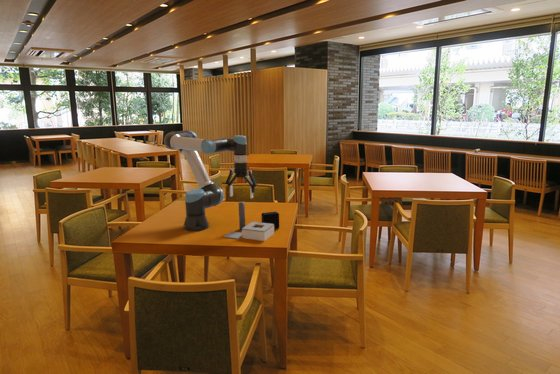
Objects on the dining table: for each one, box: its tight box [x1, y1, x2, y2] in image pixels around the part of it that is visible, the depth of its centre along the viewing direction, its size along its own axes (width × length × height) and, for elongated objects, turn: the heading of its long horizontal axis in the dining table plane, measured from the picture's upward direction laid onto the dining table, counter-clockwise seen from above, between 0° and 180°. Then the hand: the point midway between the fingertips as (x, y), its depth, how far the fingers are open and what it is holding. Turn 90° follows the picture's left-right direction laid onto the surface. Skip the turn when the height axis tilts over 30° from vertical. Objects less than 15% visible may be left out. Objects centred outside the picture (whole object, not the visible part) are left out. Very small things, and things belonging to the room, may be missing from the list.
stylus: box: [238, 201, 246, 231], centre depth 233 cm, size 4×4×17 cm
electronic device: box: [261, 211, 280, 230], centre depth 235 cm, size 4×10×10 cm, turn 111°
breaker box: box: [241, 221, 275, 242], centre depth 223 cm, size 14×14×6 cm
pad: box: [223, 231, 242, 240], centre depth 223 cm, size 9×9×1 cm
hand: (241, 197), depth 231 cm, fingers open, 13 cm apart
